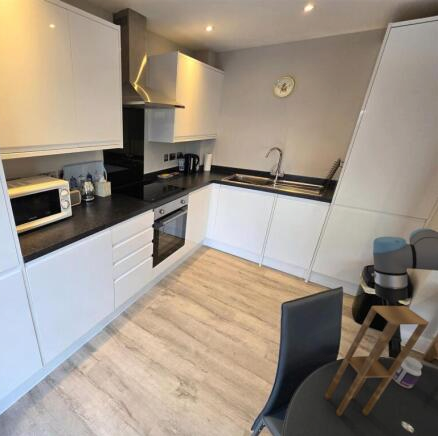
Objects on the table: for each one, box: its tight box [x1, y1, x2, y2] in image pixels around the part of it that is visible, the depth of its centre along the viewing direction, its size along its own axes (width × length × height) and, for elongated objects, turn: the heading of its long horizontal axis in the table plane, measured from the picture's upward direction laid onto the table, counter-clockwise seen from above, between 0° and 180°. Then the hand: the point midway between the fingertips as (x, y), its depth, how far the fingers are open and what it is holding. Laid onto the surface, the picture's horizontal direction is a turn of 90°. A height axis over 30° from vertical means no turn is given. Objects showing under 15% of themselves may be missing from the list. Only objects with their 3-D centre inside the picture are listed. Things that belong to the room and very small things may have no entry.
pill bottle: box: [392, 356, 423, 389], centre depth 85 cm, size 5×5×10 cm
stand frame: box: [324, 307, 429, 417], centre depth 70 cm, size 10×6×37 cm, turn 93°
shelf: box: [370, 305, 430, 325], centre depth 63 cm, size 10×6×1 cm, turn 93°
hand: (392, 346), depth 81 cm, fingers open, 13 cm apart
